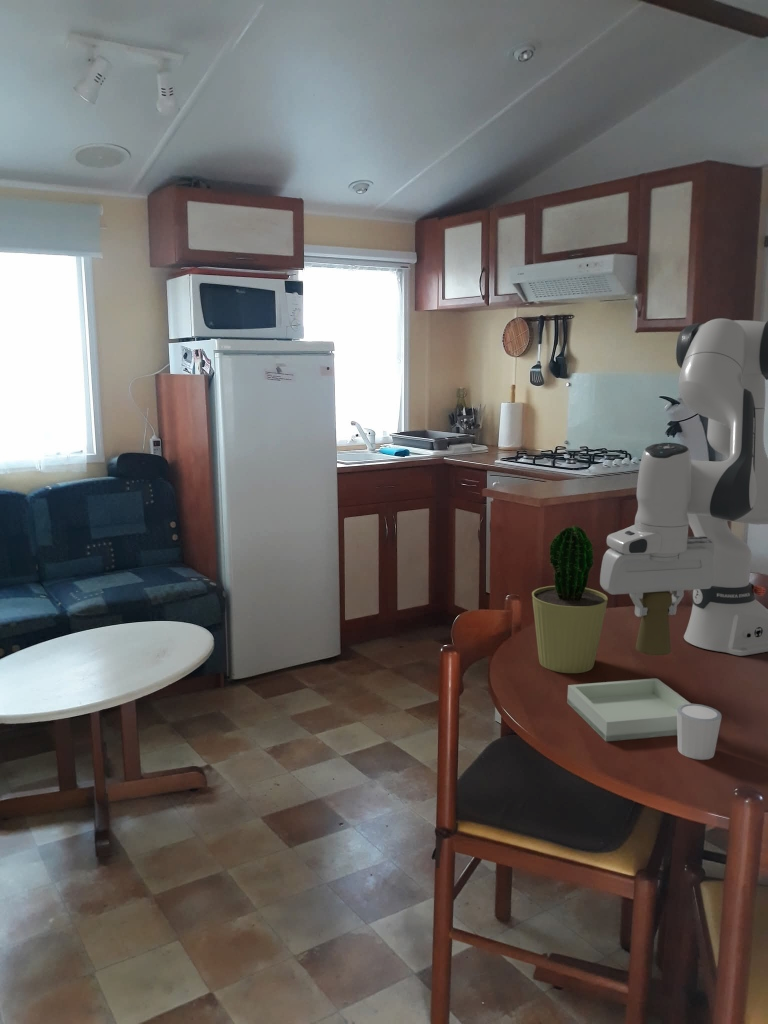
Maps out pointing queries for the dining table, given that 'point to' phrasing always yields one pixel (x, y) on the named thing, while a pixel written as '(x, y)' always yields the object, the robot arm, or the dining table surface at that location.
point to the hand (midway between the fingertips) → (655, 614)
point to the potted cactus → (569, 607)
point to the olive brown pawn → (655, 624)
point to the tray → (627, 708)
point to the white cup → (697, 730)
